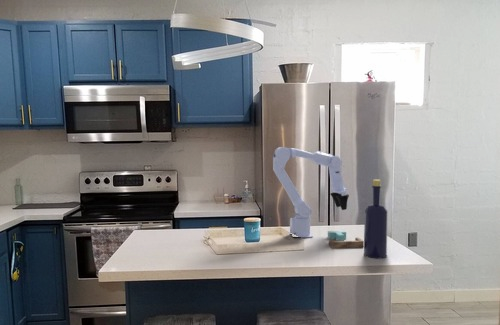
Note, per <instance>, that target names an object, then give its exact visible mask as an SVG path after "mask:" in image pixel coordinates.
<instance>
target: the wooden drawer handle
mask: <svg viewBox="0 0 500 325" xmlns="http://www.w3.org/2000/svg"><path fill="white" fill-rule="evenodd" d="M328 244H329V246H331V248H333V249H340V248H341V249H342V248H344V249H345V248H346V249H347V248H364V240H363V239H361V238H359V237H355V240H344V241H337V240H335V239H332V238H328Z"/></svg>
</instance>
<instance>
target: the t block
mask: <svg viewBox="0 0 500 325" xmlns="http://www.w3.org/2000/svg"><path fill="white" fill-rule="evenodd" d="M329 238H332V239H333V240H335V241H345V239H346V240H347V232H346V231H345V230H333V231H332V230H329V231H327V239H329Z"/></svg>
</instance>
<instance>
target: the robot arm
mask: <svg viewBox="0 0 500 325" xmlns="http://www.w3.org/2000/svg"><path fill="white" fill-rule="evenodd" d="M295 157H297V158H298V157H299V158H303V159H308V160H311V161H312V162H313V164H316V165H319V166H325V167H328V172H329V179H330V184H331V193H330V196H331V197H332V199H333V201H334V203H335V206H336V208H340V209H341V210H342V211H344V210H347V209H348V208H347V207H348V200H349V197H350V194H347V192H346V190H348V188H347V187H345V184H344V179H343V174H342V173H343V171H342V163H343V161H342V159H341V158H340V157H339V156H337V155H332V154H331V153H324V152H323V151H322V150H318V151H315V152H309V151H306V150H303V149H298V148H292V147H283V146H279V147H277V148H275V150H274V153H273V154H272V170H273V172H274V174H275V176H276V178H277V179H278V180H279V182H280V184H281V185H282V187H283V189H284V191H285V192H286V194H287V196H288V197H289V199H290V200H291V203H292V204H293V208H294V209H293V210H294V211H295V212H294V213H295V215H294V216H293V217H290V219H289V234H290V233H292V234H294V235H296V236H298V237H301V238H313V235H312V234H311V215H312V208H311V206H309V205H308V204H306V202H305V200H304V199H303V198H302V196H301V194H300V193H299V191H298V190H297V188H296V186H295V185H294V183H293V182H292V180H291V178H290V176H289V175H288V173H287V171H286V170H285V168H286V164H287V162H289V159H290V158H291V159H293V158H295Z"/></svg>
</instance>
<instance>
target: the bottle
mask: <svg viewBox="0 0 500 325" xmlns="http://www.w3.org/2000/svg"><path fill="white" fill-rule="evenodd" d="M371 189H372V204H369V205H368V206H367V207H366V208H365V210H364V226H363V228H364V230H363V234H364V236H363V241H364V245H363V255H364V256H365V255H366V257H367V256H368V257H367V258H371V259H378V258H379V259H386V258H387V257H388V224H389V223H388V218H389V216H388V212H389V211H388V209H387V208H386V206H385V205H381V204H380V203H381V189H382V186H381V179H373V180H372V186H371Z"/></svg>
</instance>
